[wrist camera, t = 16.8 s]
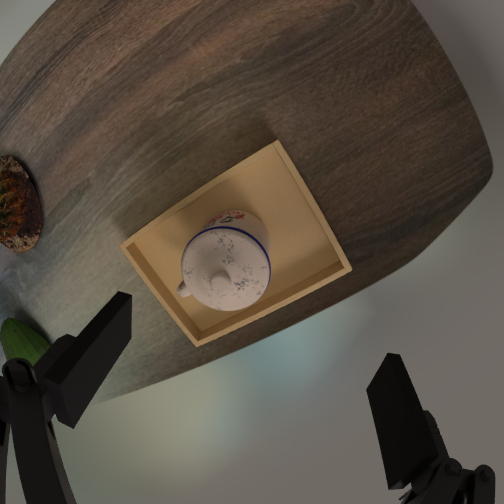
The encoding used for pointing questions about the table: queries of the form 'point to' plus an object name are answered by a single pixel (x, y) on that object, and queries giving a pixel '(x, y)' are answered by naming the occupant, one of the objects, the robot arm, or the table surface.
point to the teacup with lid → (227, 262)
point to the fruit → (22, 341)
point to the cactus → (18, 207)
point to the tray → (279, 229)
